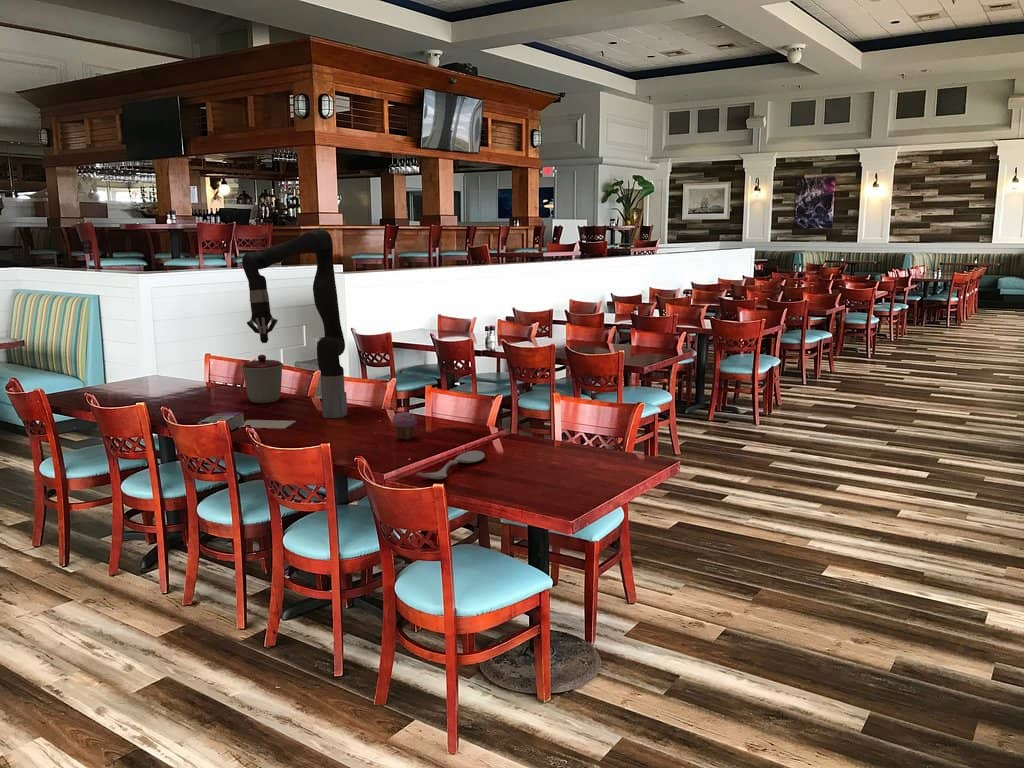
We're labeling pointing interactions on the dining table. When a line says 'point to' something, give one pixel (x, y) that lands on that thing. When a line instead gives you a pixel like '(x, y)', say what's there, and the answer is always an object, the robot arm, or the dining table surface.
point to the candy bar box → (226, 419)
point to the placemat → (267, 424)
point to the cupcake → (404, 425)
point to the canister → (263, 379)
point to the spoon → (463, 458)
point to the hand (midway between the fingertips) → (264, 342)
